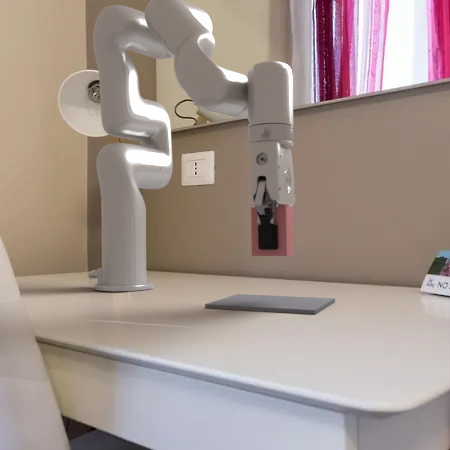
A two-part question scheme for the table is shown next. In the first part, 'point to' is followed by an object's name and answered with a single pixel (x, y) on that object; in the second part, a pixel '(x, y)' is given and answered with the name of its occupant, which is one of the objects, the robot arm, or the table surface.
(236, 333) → the table surface
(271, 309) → the mat
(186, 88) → the robot arm
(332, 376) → the table surface
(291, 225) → the pink rectangular block
